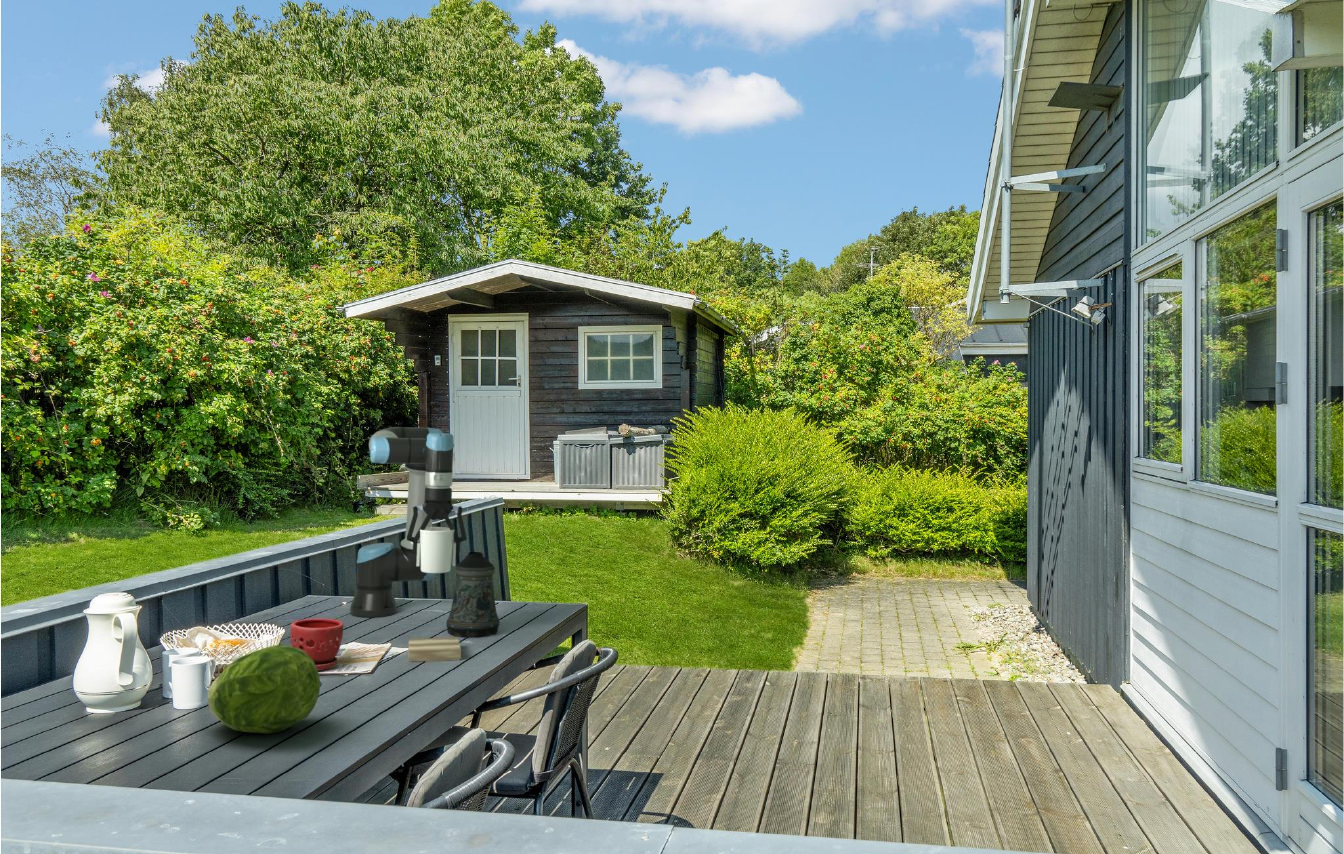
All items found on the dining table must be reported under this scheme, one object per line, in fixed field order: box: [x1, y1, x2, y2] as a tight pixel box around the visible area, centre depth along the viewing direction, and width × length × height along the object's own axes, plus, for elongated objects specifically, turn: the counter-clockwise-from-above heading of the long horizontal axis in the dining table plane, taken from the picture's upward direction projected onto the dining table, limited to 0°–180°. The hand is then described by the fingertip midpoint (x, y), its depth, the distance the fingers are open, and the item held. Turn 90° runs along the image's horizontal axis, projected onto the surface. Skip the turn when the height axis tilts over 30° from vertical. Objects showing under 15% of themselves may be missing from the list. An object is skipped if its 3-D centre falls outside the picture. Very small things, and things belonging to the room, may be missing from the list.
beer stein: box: [446, 551, 501, 639], centre depth 290 cm, size 16×19×25 cm
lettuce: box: [207, 644, 321, 735], centre depth 196 cm, size 19×23×18 cm
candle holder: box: [420, 526, 455, 574], centre depth 260 cm, size 10×10×12 cm
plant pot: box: [290, 618, 344, 672], centre depth 244 cm, size 13×13×12 cm
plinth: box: [407, 636, 462, 663], centre depth 261 cm, size 14×14×3 cm
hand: (435, 565), depth 260 cm, fingers closed on candle holder, 9 cm apart
